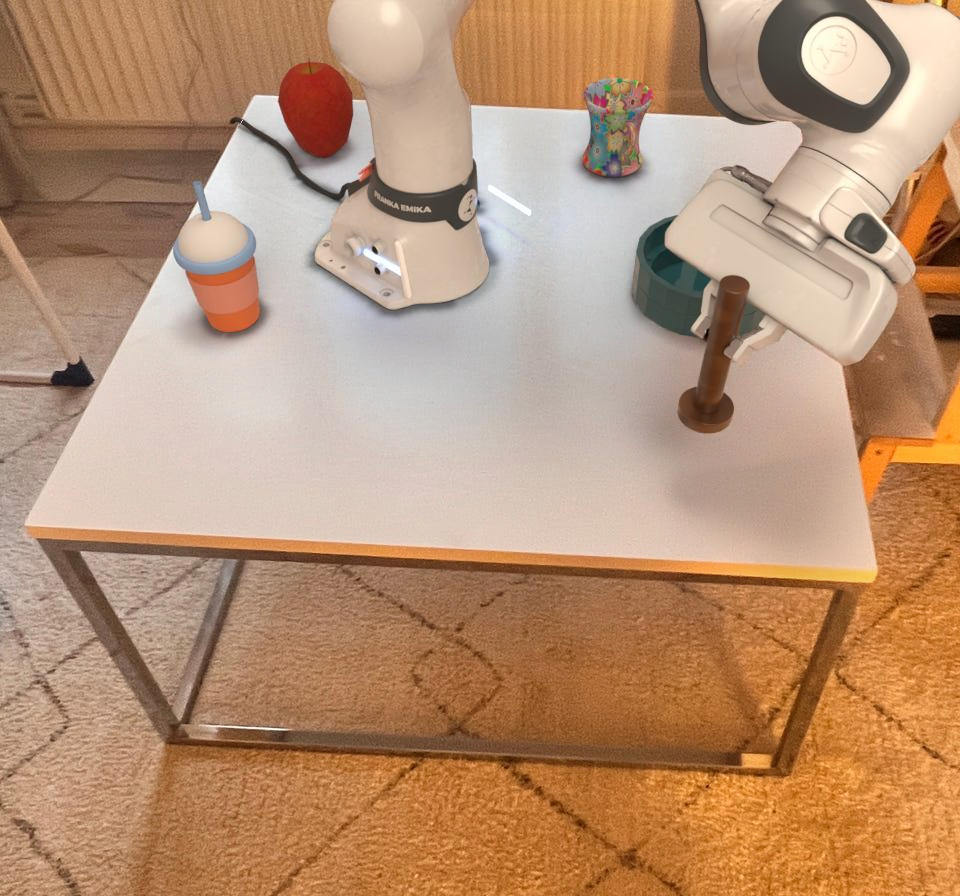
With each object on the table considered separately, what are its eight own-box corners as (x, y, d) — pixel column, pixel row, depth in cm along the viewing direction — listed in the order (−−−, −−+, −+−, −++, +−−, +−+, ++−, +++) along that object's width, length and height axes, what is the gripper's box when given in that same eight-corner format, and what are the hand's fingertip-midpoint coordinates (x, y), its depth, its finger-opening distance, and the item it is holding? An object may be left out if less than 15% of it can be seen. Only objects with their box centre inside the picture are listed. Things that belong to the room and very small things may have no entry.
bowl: (607, 312, 110) (611, 268, 105) (667, 241, 119) (674, 197, 114) (739, 362, 103) (750, 317, 99) (792, 283, 113) (805, 238, 108)
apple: (370, 140, 138) (359, 47, 127) (338, 174, 131) (324, 79, 121) (309, 128, 140) (294, 36, 130) (275, 161, 134) (256, 67, 124)
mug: (571, 152, 134) (575, 81, 126) (632, 144, 135) (640, 73, 127) (595, 197, 126) (601, 125, 118) (660, 188, 127) (670, 116, 119)
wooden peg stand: (667, 420, 85) (693, 290, 74) (690, 387, 88) (718, 257, 77) (718, 441, 83) (752, 311, 72) (740, 408, 86) (776, 277, 75)
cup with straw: (256, 345, 107) (221, 211, 94) (183, 336, 109) (138, 203, 95) (283, 296, 113) (253, 164, 100) (213, 288, 115) (174, 157, 101)
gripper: (711, 141, 79) (615, 278, 82) (918, 255, 68) (797, 408, 71) (737, 170, 84) (646, 298, 87) (934, 281, 73) (820, 422, 76)
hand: (715, 348), depth 79 cm, fingers closed on wooden peg stand, 2 cm apart
